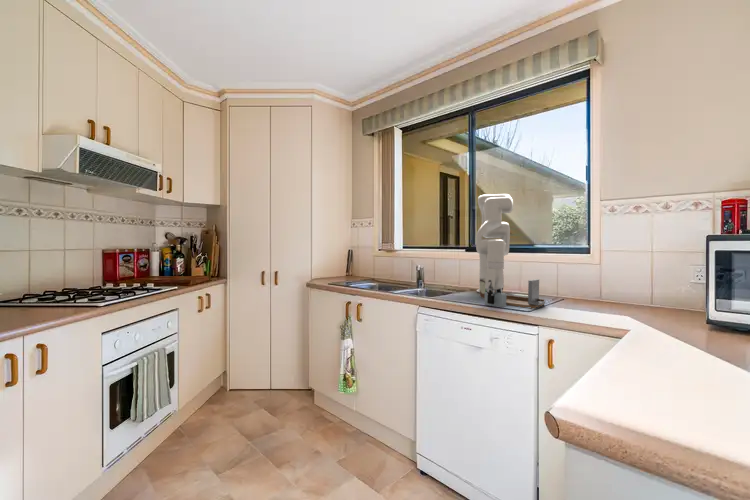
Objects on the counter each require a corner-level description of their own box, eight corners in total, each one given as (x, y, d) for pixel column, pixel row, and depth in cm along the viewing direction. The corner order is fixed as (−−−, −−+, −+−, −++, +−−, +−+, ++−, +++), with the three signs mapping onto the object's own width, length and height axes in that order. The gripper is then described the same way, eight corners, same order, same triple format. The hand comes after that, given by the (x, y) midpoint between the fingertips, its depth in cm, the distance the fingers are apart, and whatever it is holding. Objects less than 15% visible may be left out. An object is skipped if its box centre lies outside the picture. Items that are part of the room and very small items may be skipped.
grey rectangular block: (488, 303, 172) (488, 291, 172) (506, 306, 166) (506, 293, 166) (484, 304, 169) (484, 292, 169) (502, 307, 163) (502, 294, 163)
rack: (498, 299, 184) (499, 274, 183) (544, 305, 167) (544, 278, 167) (487, 302, 175) (487, 276, 175) (534, 308, 159) (534, 280, 159)
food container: (497, 299, 183) (497, 280, 183) (485, 299, 183) (486, 280, 183) (490, 296, 195) (490, 278, 195) (479, 296, 195) (479, 278, 195)
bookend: (535, 301, 169) (535, 279, 168) (545, 303, 165) (545, 280, 165) (528, 304, 163) (528, 280, 162) (538, 305, 159) (538, 281, 159)
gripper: (496, 264, 176) (496, 299, 176) (478, 266, 163) (478, 303, 164) (511, 265, 170) (510, 301, 171) (494, 266, 158) (493, 306, 159)
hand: (494, 302), depth 167 cm, fingers open, 7 cm apart
